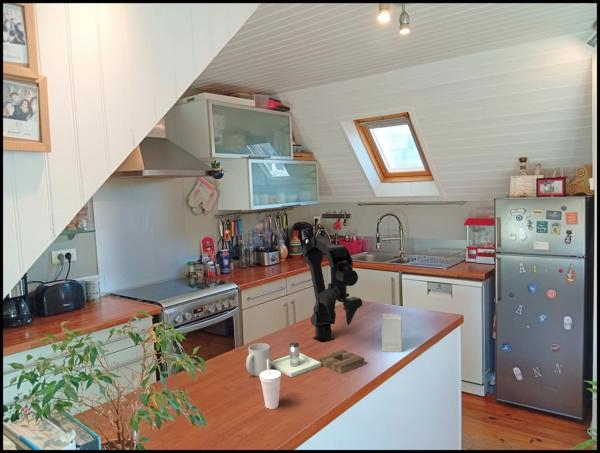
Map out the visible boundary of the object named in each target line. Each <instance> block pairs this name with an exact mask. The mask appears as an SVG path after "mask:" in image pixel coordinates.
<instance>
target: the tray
mask: <svg viewBox="0 0 600 453" xmlns="http://www.w3.org/2000/svg"><path fill="white" fill-rule="evenodd" d="M299 356H300V365H299V366H297V367H292V366H290V354H289V355H286V356H283V357H280V358H277V359H275V360H274V359H273V360H270V363H271V369H273V370H277V371H280V372H281V374H283V375H286V376H287V377H290V378H293V377H296V376H299V375H302V374H305V373H307V372H309V371H314V370H316V369H319V368H321V367H322V365H321V362H320V360H316V359H314V358H312V357H310V356H308V355H305V354H303V353H301V352H299Z"/></svg>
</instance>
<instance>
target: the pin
mask: <svg viewBox="0 0 600 453" xmlns="http://www.w3.org/2000/svg"><path fill="white" fill-rule="evenodd" d="M288 347H289V355H290V366H292V367H297V366H299V365H300V356H299V353H300V343H298V342H295V341H294V342H293V341H292V342H290V343H289V345H288Z"/></svg>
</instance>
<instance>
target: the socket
mask: <svg viewBox="0 0 600 453" xmlns="http://www.w3.org/2000/svg"><path fill="white" fill-rule="evenodd" d="M319 362H321V366H323V367H324V368H327V369H330V370H332V371H333V372H336V373H339V374H340V375H341V374H345V373H347V372H349V371H351V370H354V369H357V368H359V367H361V366H364V365H365V357H363V356H360V355H358V354H355V353H353V352H351V351H348V350H345V349H342V348H341V349H338V350H336V351H333V352H331V353H328V354H325V355H321V356H319Z"/></svg>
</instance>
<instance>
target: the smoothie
mask: <svg viewBox="0 0 600 453" xmlns="http://www.w3.org/2000/svg"><path fill="white" fill-rule="evenodd" d="M258 377H259V380H260V382H261V389H262V394H263V395H262V396H263V399H264V406H265V408H266V409H267V408H269V409H268V410H275V409H277V408H278V407H279V401H280V400H279V398H280V388H281V387H280V386H281V379H282V372H280V371H278V370H276V369H271V370H269V360H268V359H267V370H266V371H263V372H261V373H260V375H259V376H258Z"/></svg>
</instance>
